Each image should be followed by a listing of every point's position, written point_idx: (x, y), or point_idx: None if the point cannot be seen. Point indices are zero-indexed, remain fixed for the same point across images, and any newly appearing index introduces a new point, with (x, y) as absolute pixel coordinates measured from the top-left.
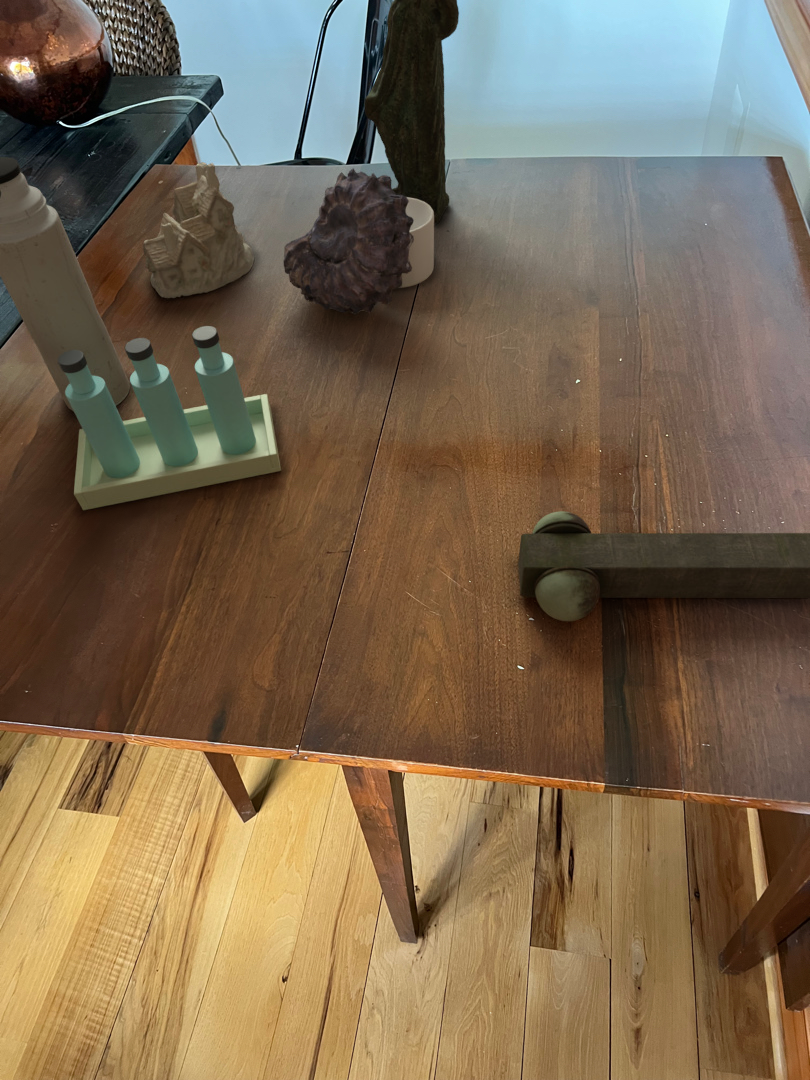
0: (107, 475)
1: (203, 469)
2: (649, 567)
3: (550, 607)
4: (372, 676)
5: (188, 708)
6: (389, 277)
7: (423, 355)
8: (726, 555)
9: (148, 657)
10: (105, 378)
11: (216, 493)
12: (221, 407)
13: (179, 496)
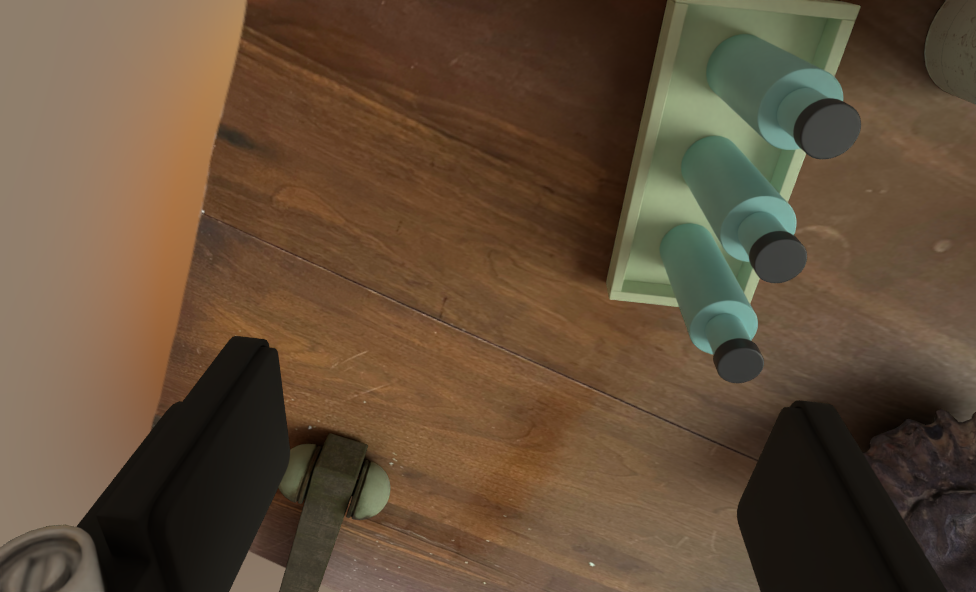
0: (727, 38)
1: (630, 203)
2: (296, 534)
3: None
4: (272, 295)
5: (261, 107)
6: None
7: (727, 474)
8: (297, 574)
9: (344, 66)
10: (963, 81)
11: (604, 196)
12: (679, 285)
13: (624, 145)
